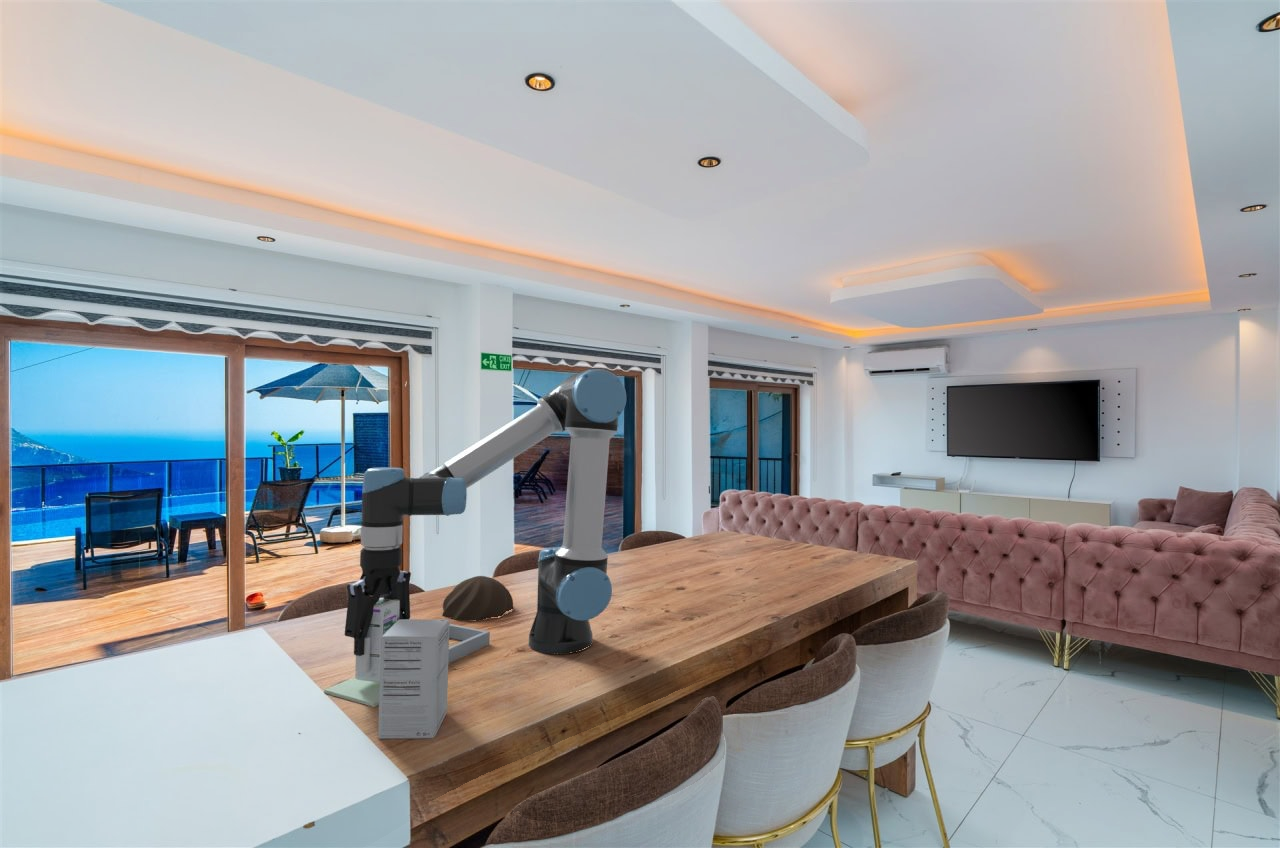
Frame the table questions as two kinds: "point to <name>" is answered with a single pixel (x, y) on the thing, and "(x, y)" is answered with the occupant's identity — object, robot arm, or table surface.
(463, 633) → the gray rectangular frame
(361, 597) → the robot arm
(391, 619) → the syrup box
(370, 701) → the mat
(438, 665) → the supplement box
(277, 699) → the table surface
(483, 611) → the decorative dome
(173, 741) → the table surface
